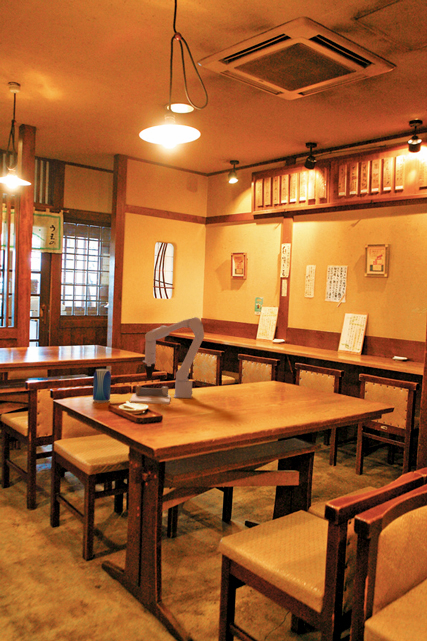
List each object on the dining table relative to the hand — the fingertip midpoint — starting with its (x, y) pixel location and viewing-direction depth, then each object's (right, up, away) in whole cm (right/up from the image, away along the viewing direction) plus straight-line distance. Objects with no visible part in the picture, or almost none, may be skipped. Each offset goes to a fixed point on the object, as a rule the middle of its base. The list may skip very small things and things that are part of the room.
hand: (149, 377), depth 275 cm
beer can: (-21, -10, -23) cm, 33 cm away
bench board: (+2, -10, -12) cm, 16 cm away
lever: (+2, -8, -8) cm, 12 cm away
